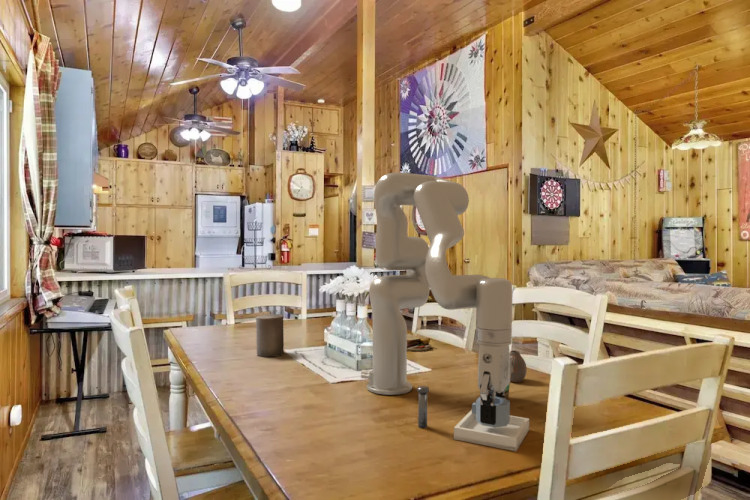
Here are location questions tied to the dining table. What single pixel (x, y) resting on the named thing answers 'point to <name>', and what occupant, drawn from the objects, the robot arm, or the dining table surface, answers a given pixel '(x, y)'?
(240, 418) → the dining table surface
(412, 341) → the toy sandwich meal
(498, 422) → the ring
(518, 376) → the vase
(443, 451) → the dining table surface
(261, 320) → the pillar candle
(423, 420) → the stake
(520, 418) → the tray
